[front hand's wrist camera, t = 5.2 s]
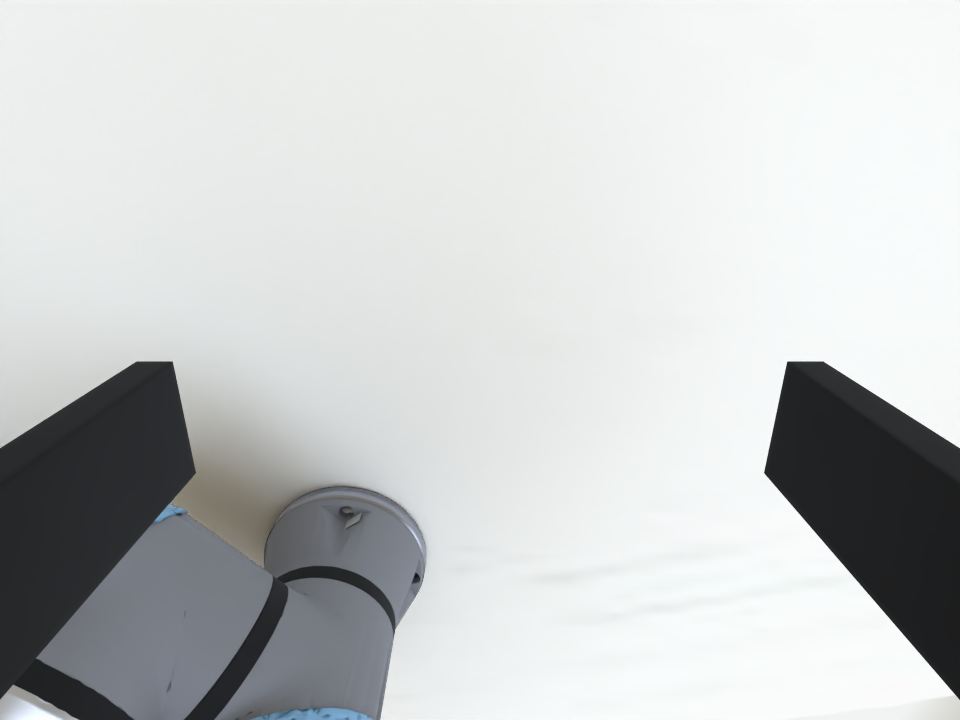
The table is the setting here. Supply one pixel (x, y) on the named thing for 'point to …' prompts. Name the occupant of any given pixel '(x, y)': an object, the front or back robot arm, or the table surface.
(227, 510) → the table surface
